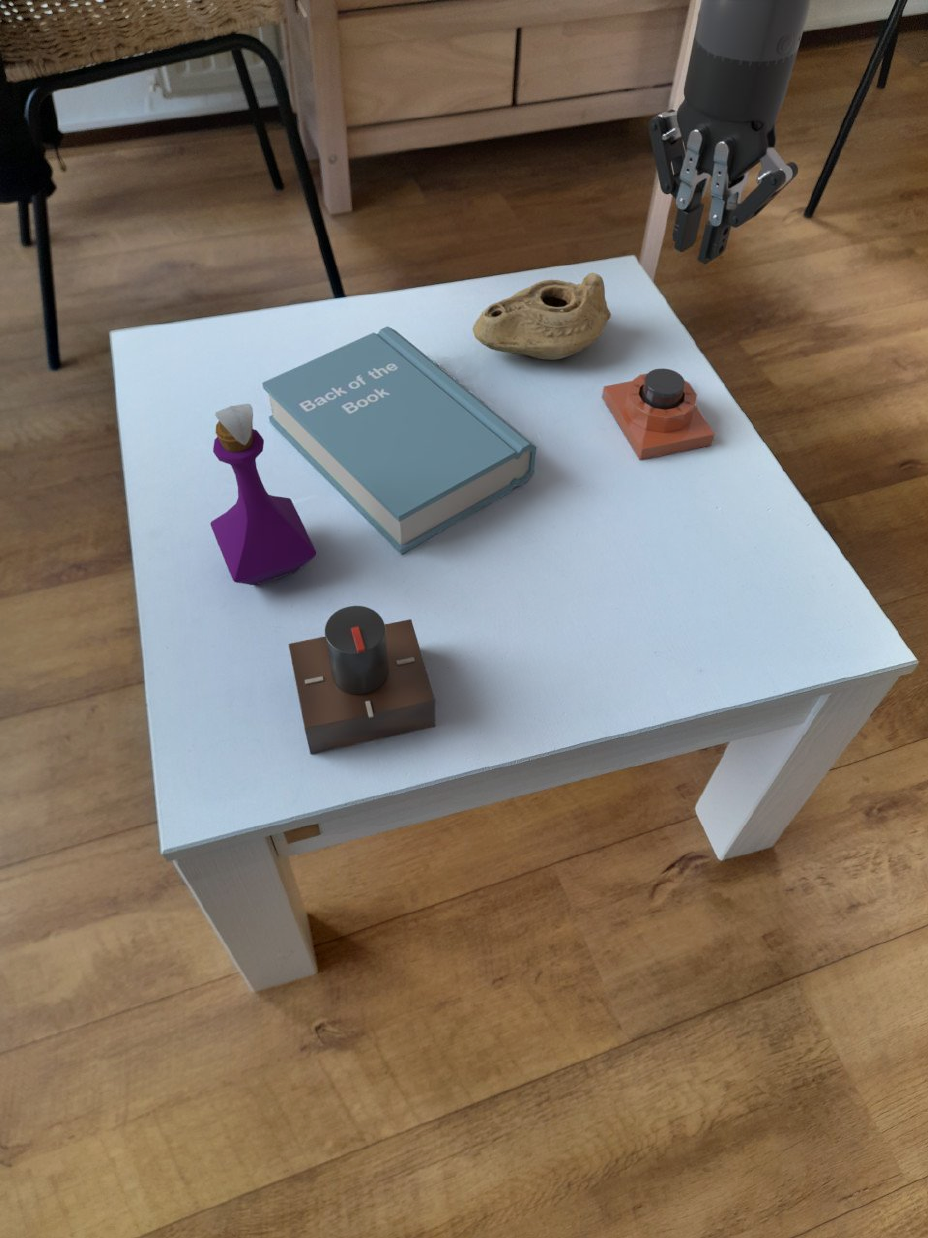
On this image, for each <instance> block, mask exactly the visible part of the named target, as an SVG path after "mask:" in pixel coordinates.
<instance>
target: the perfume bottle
mask: <svg viewBox="0 0 928 1238" xmlns="http://www.w3.org/2000/svg"><path fill="white" fill-rule="evenodd" d="M214 416H215V417H216V418H217V420H218V421H217V423H216V424H215V431H214V432H215V435H216V438H215V439H214V441H213V447H212V452H213V454H214V455H215V457H216V458H217V459H218V461H219V462H222V463H225V464H227V465H230V466H231V468H232V471H233V473H234V477H235V481H236V485H237V500H236V502H235V504H234V505H232V507H230V508H229V509H228V510H227V511H226V512H224V513H223V514H221V515H220V516H218V517H216V518H214V519H213V520H211V522H210V527H211V530H212V532H213V535H214V537H215V541H216V542H217V545H218V547H219V550H220V552H221V554H222V557H223V559H224V562H225V564H226V568H227V569H228V571H229V574H230V577H231V578H232V581H233V582H234V583H237V584H243V585H249V586H258V585H260V584H263V583H267V582H270V581H272V580H276V579H278V578H281V577H285V576H288V575H290V574H294V573H297V572H298V571H299V570H300V569H302V568H303V567H304V566H305V565H307V564H308V563H309V562H310V561H312V560H313V559H314V558H316V557H317V556H318V552H317V550H316V547H315V546H314V544H313V542H312V540H311V538H310V535H309V534H308V532H307V530H306V527H305V525H304V523H303V522H302V520H301V516H300V515H299V513H298V511H297V508H296V506H295V505H294V503H293V501H292V499H291V498H289V497H285V496H284V497H283V496H276V495H272V494H269V493H268V492H267V490H266V489H265V487H264V486H265V485H264V484H263V481H262V478H261V476H260V474H259V471H258V467H257V460H256V459H257V458H258V457H259V456H260V455H261V454H262V453H263V452H264V446H265V445H264V444H265V440H264V438H263V436H262V435H261V434H260V432H259V431H258V430H257V429H254V426H253V419H254V409H253V406H252V405H251V404H250V403H242V404H236V405H230V406H228V407H225V408H223V409H219V410H218V411H215V415H214Z"/></svg>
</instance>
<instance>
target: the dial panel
mask: <svg viewBox="0 0 928 1238" xmlns="http://www.w3.org/2000/svg"><path fill="white" fill-rule="evenodd" d="M384 625H385V634H386V646H387V658H388V675H387V678H386V680H385V682H384V683H383V684H382V685H381V686H380V687H379V688H378V689H376V690H374V691H372V692H370V693H367V694H351V693H348V692H345V691H343V690H342V689H340V688H339V687H338V686H337V685H336V684H335V682H334V680H333V678H332V673H331V667H330V661H329V656H328V650H327V644H326V638H325V636H321V637H315V638H311V639H306V640H300V641H295V642H292V643H288V649H289V650H288V651H289V656H290V659H291V660H290V661H291V665H292V670H293V676H294V681H295V686H296V692H297V697H298V702H299V708H300V712H301V717H302V724H303V728H304V732H305V737H306V741H307V745H308V749H309V750H308V751H309V753H310V755H314V754H318V753H323V752H328V751H332V750H337V749H342V748H345V747H350V746H355V745H358V744H359V745H360V744H364V743H368V742H373V741H377V740H382V739H386V738H390V737H395V736H399V735H403V734H408V733H413V732H417V731H421V730H426V729H430V728H434V727H436V699H435V695H434V692H433V689H432V685H431V681H430V678H429V675H428V671H427V669H426V665H425V661H424V658H423V654H422V651H421V648H420V644H419V641H418V637H417V633H416V631H415V627H414V625H413V620H412V618H411V619H409V618H408V619H405V620H400V621H396V622H390V623H384Z"/></svg>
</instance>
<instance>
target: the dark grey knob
mask: <svg viewBox="0 0 928 1238" xmlns="http://www.w3.org/2000/svg"><path fill="white" fill-rule="evenodd" d="M647 373H648V374H647ZM647 373H646V374H647V375H646V377H645V380H644V385H643V389H642V399H643V401H644V402H645V403H646V404H648V405H650V406H652V407H653V408H658V409H664V410H667V409H672V408H675V407H677V406H678V405H679V404H680V402H681V399H682V395H683V391H684V387H685V381H686V380H685V378H684V377H683V375H682V374H681V373H679V372H677V371H675V370H673V369H669V368H655V369H652V370H650V371H649V372H647ZM684 380H685V381H684Z"/></svg>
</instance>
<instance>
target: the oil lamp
mask: <svg viewBox="0 0 928 1238" xmlns="http://www.w3.org/2000/svg"><path fill="white" fill-rule="evenodd" d="M605 287H606V286H605V283H604V279H603V277H602V276H601V275H600V274H598V273H596V272H590V273H588V274H587V275H586V276H585V277H584V278H583V279H582V281H581V283H580V284H576V283H573V282H571V281H564V280H560V279H545V280H542V281H538V282H536V283H534V284H532V285H530V286H528V287H526V288H523V289H521V290H519V291H517V292H515V293H514V294H513V295H511V296H510V297H507V298H504V299H502V300H500V301H498V302H494V303H492V304H490V305H488V306H487V307H486V308H485V309H484V310H483V311H482V312H481V314H480V315H479V316H478V318H477V319H476V321H475V322H474V324H473V326H472V332H473V335H474V338H475V339H476V340H477V341H479V342H480V343H481V345H483V346H485V347H486V348H488V349H490V350H493V351H495V352H500V353H509V354H518V355H526V356H529V357H533V358H535V359H538V360H550V361H553V360H561V359H564V358H568V357H570V356H572V355H575V354H578V353H579V352H581V351H583V350H584V349H586V348H587V347H589V346H591V345H592V344H593V343H595V342H596V341H597V340H598V339H599V338H600V337H601V335H602V334H603V332H604V329H605V327H606V323H608V321H609V320H610V319H611V316H612V313H611V311H610V309H609V307H608V302H607V299H606V289H605Z"/></svg>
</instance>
